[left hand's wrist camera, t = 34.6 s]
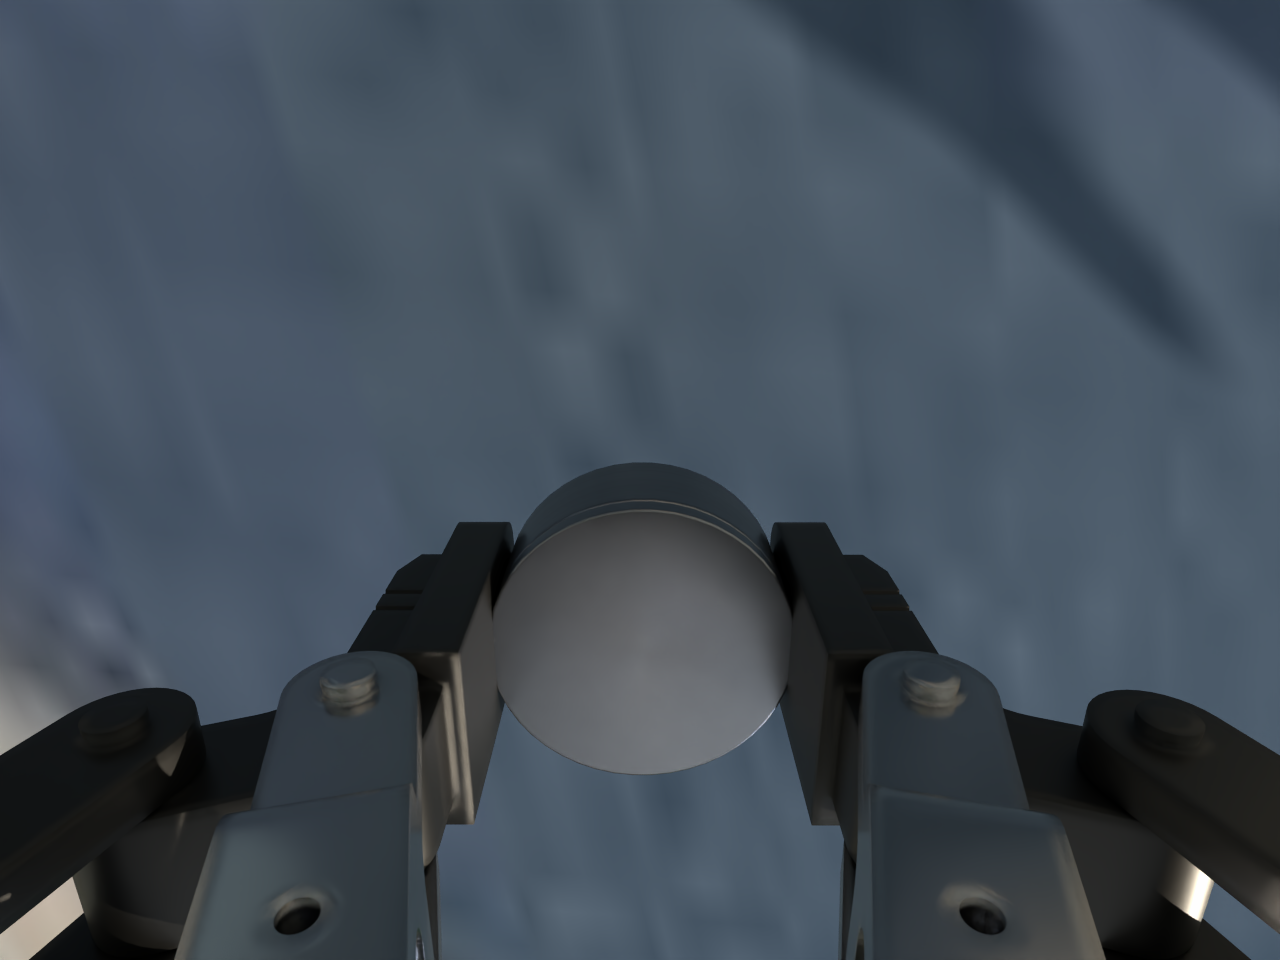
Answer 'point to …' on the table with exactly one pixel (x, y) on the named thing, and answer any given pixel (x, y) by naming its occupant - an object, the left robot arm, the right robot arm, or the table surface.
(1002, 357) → the table surface
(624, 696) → the metal cylinder
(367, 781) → the left robot arm
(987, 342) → the table surface
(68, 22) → the table surface
